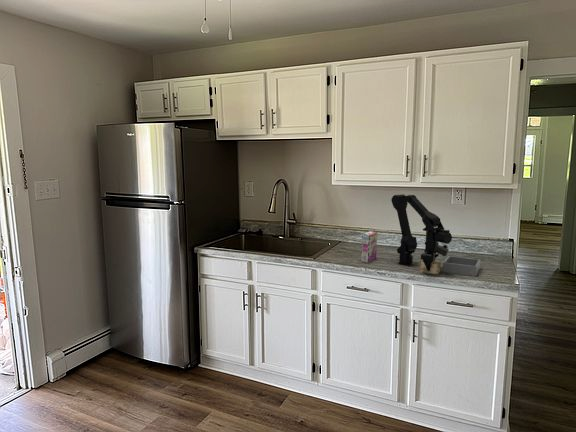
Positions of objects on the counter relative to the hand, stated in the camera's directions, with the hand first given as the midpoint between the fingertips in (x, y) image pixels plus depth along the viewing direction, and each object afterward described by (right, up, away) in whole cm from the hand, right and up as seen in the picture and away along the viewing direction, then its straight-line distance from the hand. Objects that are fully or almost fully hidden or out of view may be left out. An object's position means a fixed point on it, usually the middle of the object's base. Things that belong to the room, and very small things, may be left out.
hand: (430, 269), depth 214 cm
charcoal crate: (+17, -1, +1) cm, 17 cm away
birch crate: (0, -1, 0) cm, 1 cm away
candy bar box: (-28, +2, +21) cm, 35 cm away
